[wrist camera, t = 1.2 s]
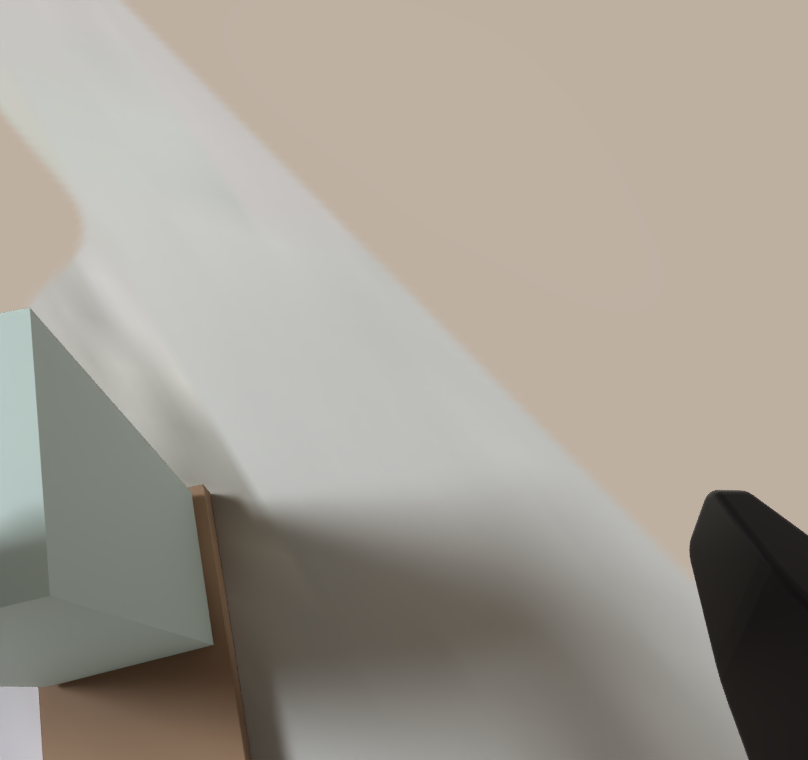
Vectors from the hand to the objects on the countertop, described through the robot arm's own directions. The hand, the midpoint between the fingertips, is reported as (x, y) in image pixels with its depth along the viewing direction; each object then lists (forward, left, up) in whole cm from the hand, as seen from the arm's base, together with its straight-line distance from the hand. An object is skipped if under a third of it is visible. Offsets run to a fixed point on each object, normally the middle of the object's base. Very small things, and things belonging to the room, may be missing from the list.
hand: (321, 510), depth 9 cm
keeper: (-3, +5, -11) cm, 13 cm away
